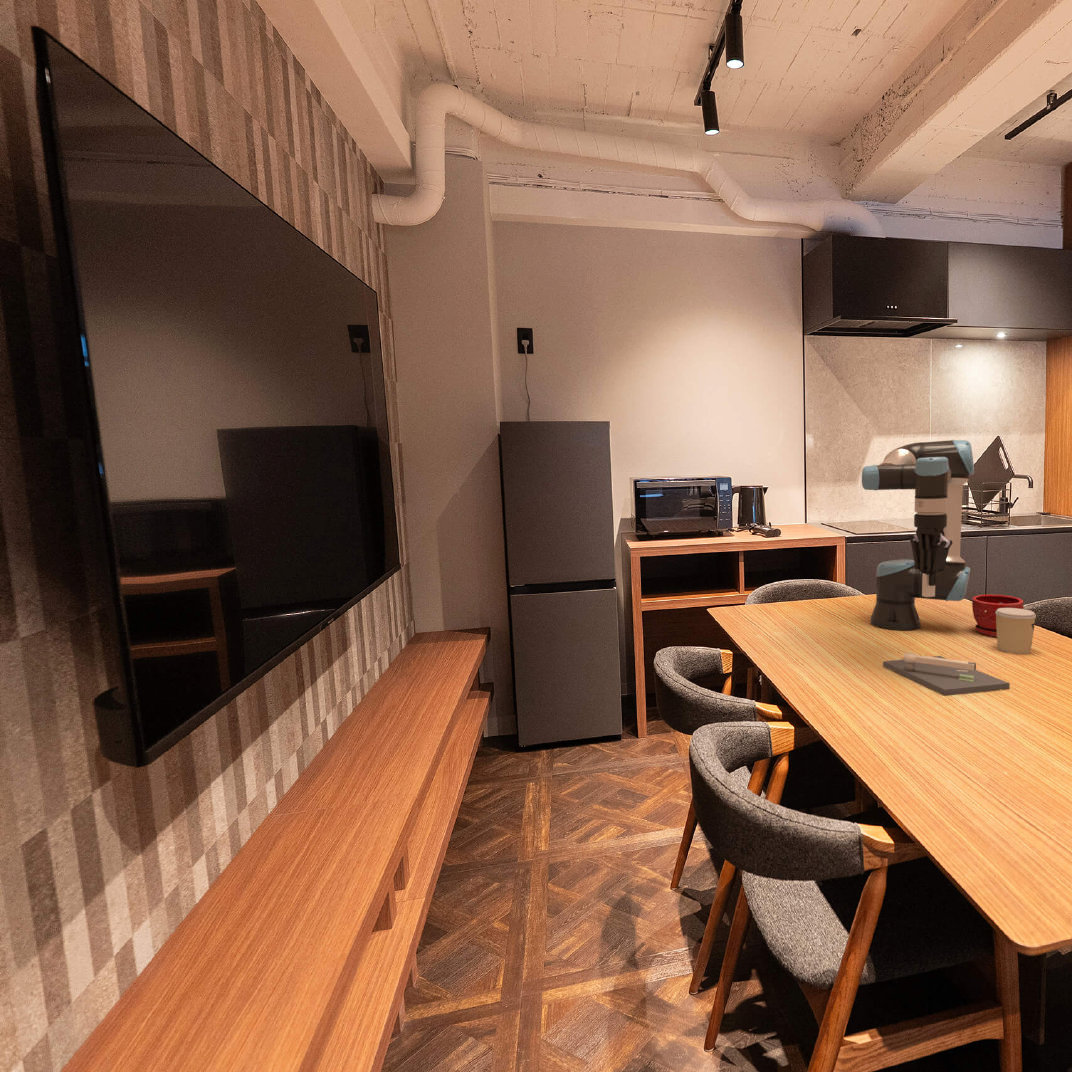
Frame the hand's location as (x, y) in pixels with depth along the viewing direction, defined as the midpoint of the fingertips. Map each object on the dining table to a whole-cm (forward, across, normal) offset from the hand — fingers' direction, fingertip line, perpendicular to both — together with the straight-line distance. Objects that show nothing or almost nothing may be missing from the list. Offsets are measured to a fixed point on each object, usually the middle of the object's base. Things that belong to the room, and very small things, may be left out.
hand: (928, 596), depth 161 cm
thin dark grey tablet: (+21, +8, -2) cm, 22 cm away
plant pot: (+22, -21, +43) cm, 52 cm away
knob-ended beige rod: (+16, +9, -5) cm, 20 cm away
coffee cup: (+21, -6, +34) cm, 40 cm away
